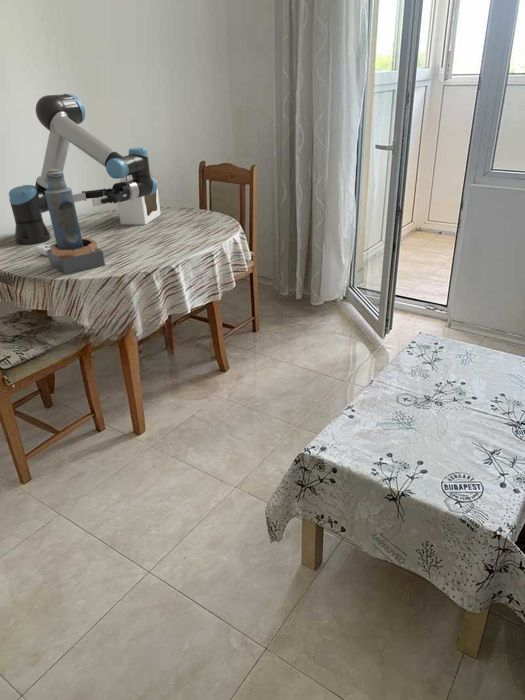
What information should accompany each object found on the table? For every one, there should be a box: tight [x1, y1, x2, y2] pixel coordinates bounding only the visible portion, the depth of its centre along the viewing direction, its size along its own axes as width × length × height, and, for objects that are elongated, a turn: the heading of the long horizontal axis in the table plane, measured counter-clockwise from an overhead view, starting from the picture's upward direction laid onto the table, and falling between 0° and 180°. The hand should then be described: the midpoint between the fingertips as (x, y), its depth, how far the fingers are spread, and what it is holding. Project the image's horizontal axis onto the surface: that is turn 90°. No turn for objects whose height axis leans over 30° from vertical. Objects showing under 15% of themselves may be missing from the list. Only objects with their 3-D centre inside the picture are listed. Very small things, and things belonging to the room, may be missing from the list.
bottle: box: [45, 169, 83, 249], centre depth 199 cm, size 10×10×30 cm
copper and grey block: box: [46, 237, 106, 276], centre depth 206 cm, size 16×16×8 cm
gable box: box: [117, 173, 161, 226], centre depth 266 cm, size 22×13×28 cm, turn 169°
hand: (82, 200), depth 203 cm, fingers open, 13 cm apart
